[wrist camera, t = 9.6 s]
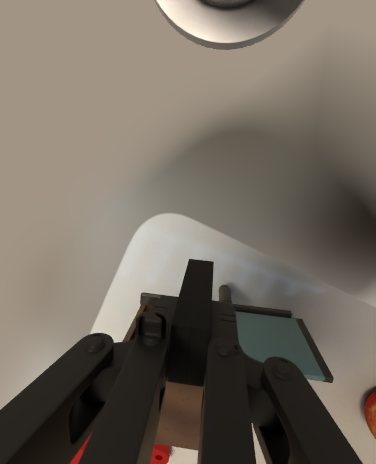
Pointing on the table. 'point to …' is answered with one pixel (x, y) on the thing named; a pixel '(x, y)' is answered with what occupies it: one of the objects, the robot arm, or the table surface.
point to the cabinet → (185, 390)
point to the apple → (371, 413)
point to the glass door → (279, 340)
